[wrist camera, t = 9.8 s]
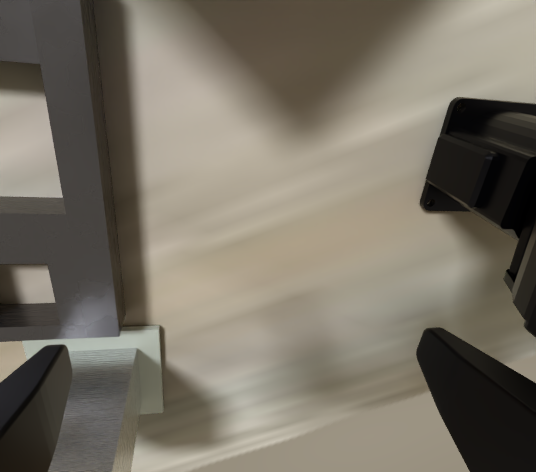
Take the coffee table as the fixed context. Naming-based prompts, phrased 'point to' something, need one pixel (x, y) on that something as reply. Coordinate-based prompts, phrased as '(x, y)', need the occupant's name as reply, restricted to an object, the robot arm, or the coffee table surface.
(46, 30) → the slotted plate
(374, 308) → the coffee table surface
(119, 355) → the brushed metal block
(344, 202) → the coffee table surface
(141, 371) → the mat
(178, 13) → the coffee table surface
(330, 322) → the coffee table surface
